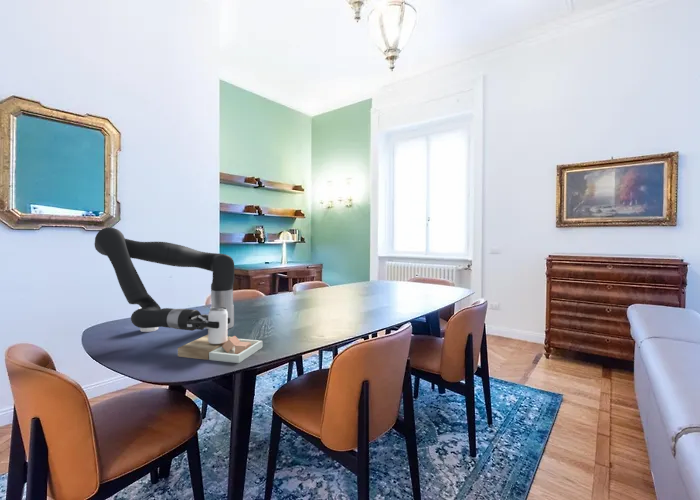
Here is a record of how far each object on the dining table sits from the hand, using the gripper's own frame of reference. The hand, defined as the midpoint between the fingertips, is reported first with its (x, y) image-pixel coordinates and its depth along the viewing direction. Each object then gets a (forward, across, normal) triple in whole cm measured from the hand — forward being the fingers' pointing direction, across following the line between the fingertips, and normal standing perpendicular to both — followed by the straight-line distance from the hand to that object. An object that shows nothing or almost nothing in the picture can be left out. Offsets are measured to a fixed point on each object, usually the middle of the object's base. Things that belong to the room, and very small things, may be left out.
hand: (224, 322), depth 121 cm
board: (-7, 0, +11) cm, 13 cm away
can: (-3, 0, +7) cm, 8 cm away
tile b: (+7, 0, +7) cm, 10 cm away
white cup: (-48, +16, +11) cm, 52 cm away
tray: (+5, 0, +11) cm, 12 cm away
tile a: (+4, 0, +8) cm, 9 cm away
